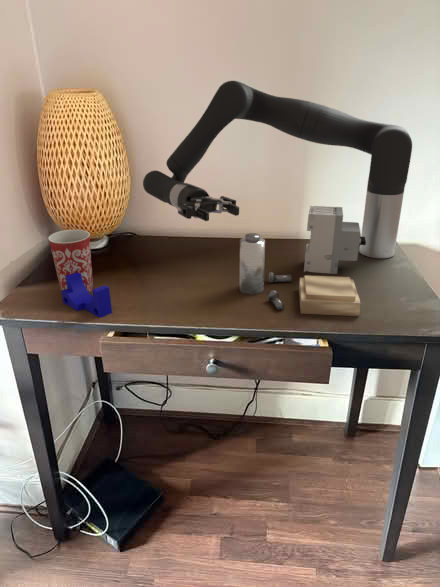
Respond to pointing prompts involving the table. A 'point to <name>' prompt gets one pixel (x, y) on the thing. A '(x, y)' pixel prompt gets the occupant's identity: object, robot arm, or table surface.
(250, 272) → the silver metal bottle
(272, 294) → the bolt
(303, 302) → the stand
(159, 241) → the table surface
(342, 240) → the circuit breaker
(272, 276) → the bolt
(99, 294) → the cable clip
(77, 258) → the mug
